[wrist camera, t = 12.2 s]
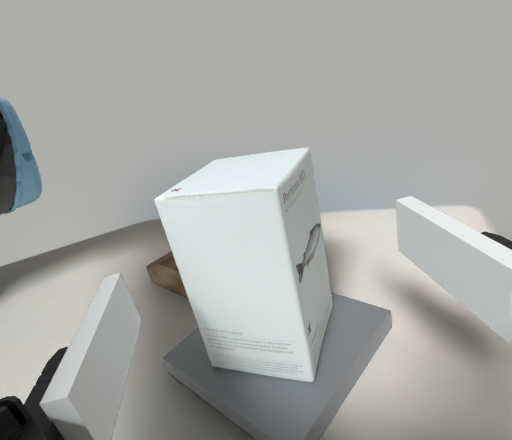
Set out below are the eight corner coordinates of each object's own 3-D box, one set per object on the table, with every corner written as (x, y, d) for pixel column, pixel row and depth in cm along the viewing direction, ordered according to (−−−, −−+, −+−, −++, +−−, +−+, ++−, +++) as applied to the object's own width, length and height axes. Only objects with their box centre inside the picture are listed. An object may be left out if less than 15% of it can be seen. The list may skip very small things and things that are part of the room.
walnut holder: (152, 281, 39) (146, 266, 38) (229, 231, 47) (225, 218, 46) (225, 315, 30) (219, 297, 30) (304, 248, 38) (301, 232, 38)
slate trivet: (168, 372, 26) (162, 358, 25) (268, 285, 33) (265, 272, 33) (298, 471, 18) (293, 453, 17) (391, 326, 25) (390, 310, 25)
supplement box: (316, 387, 20) (276, 187, 15) (209, 368, 23) (146, 197, 18) (336, 305, 26) (312, 144, 21) (249, 299, 29) (211, 157, 24)
